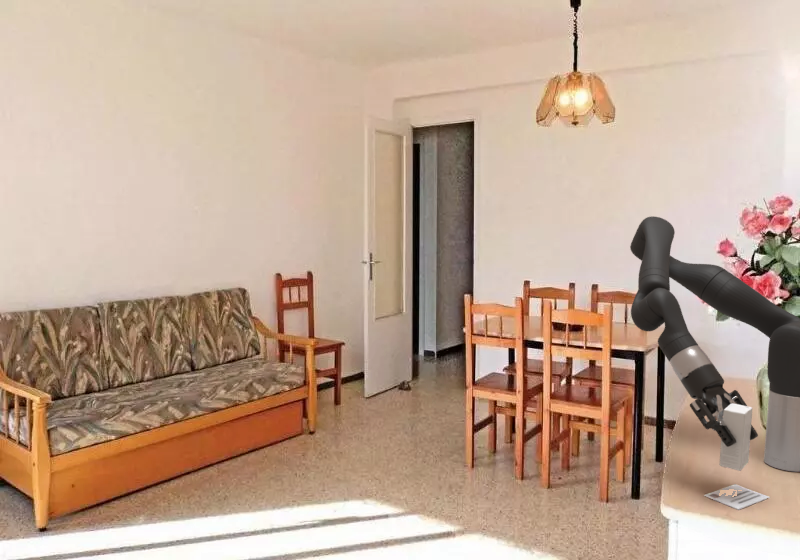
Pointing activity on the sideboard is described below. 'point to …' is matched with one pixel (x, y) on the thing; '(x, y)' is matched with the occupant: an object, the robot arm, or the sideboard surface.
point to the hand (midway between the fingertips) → (743, 441)
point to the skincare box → (736, 436)
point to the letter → (737, 497)
